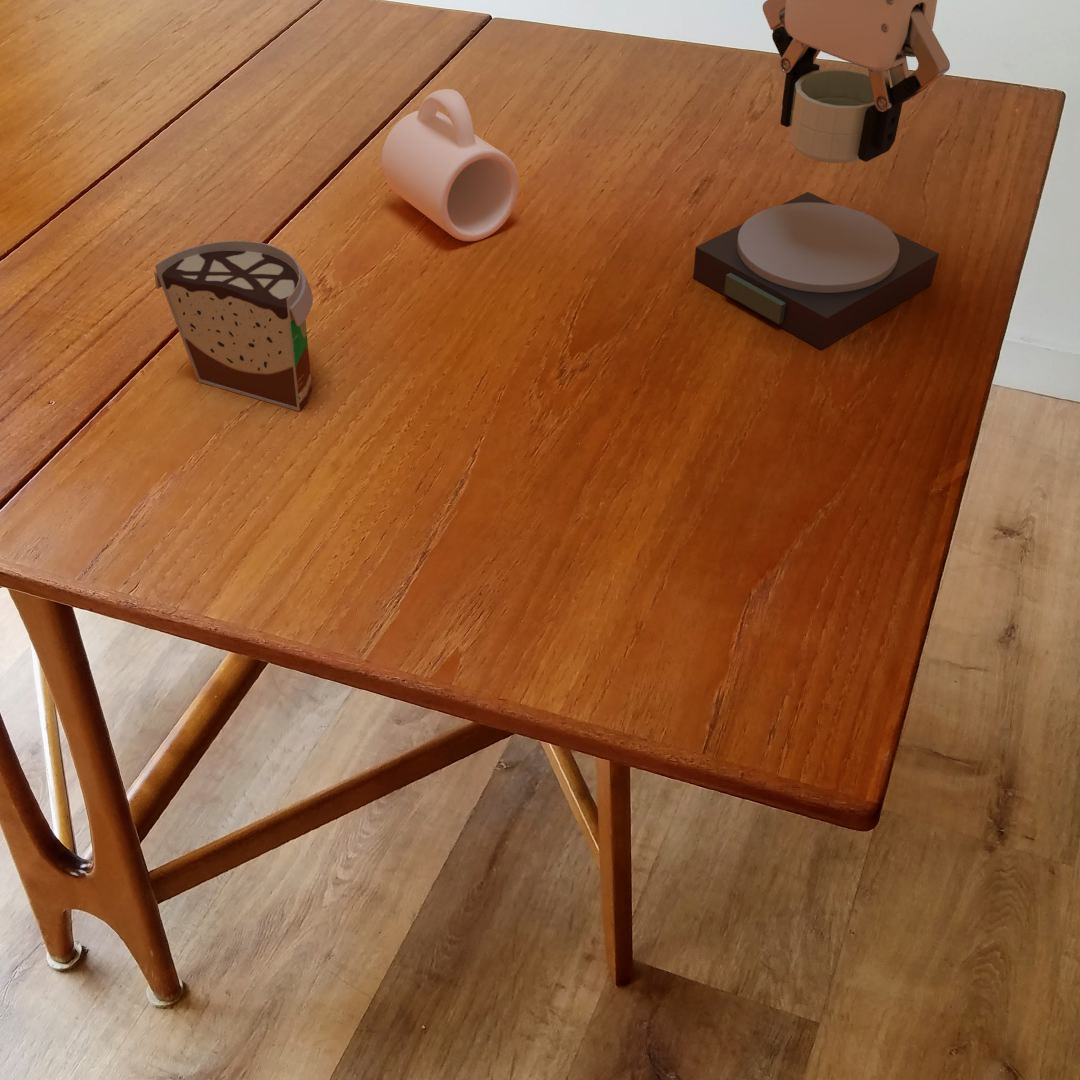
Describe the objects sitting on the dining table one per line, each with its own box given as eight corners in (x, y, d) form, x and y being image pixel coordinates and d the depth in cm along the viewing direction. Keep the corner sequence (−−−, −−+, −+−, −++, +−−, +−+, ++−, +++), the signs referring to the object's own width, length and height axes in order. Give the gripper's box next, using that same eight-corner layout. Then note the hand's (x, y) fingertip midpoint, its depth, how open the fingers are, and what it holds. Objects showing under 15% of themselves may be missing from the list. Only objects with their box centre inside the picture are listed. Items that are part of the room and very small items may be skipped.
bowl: (896, 146, 88) (908, 88, 85) (838, 175, 85) (848, 116, 82) (827, 117, 92) (836, 61, 89) (769, 143, 89) (776, 86, 86)
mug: (460, 182, 111) (450, 56, 102) (521, 225, 105) (516, 95, 96) (385, 208, 107) (369, 80, 99) (444, 254, 101) (432, 123, 93)
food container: (360, 371, 89) (341, 257, 82) (317, 416, 85) (293, 301, 78) (229, 335, 93) (201, 223, 86) (182, 377, 89) (148, 263, 82)
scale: (931, 285, 96) (941, 244, 93) (816, 353, 90) (824, 311, 87) (802, 222, 104) (809, 182, 101) (688, 280, 97) (691, 240, 95)
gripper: (1026, -105, 72) (959, 162, 85) (813, -159, 82) (781, 87, 95) (953, -78, 69) (895, 195, 82) (740, -138, 79) (717, 115, 91)
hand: (834, 135), depth 88 cm, fingers closed on bowl, 6 cm apart
